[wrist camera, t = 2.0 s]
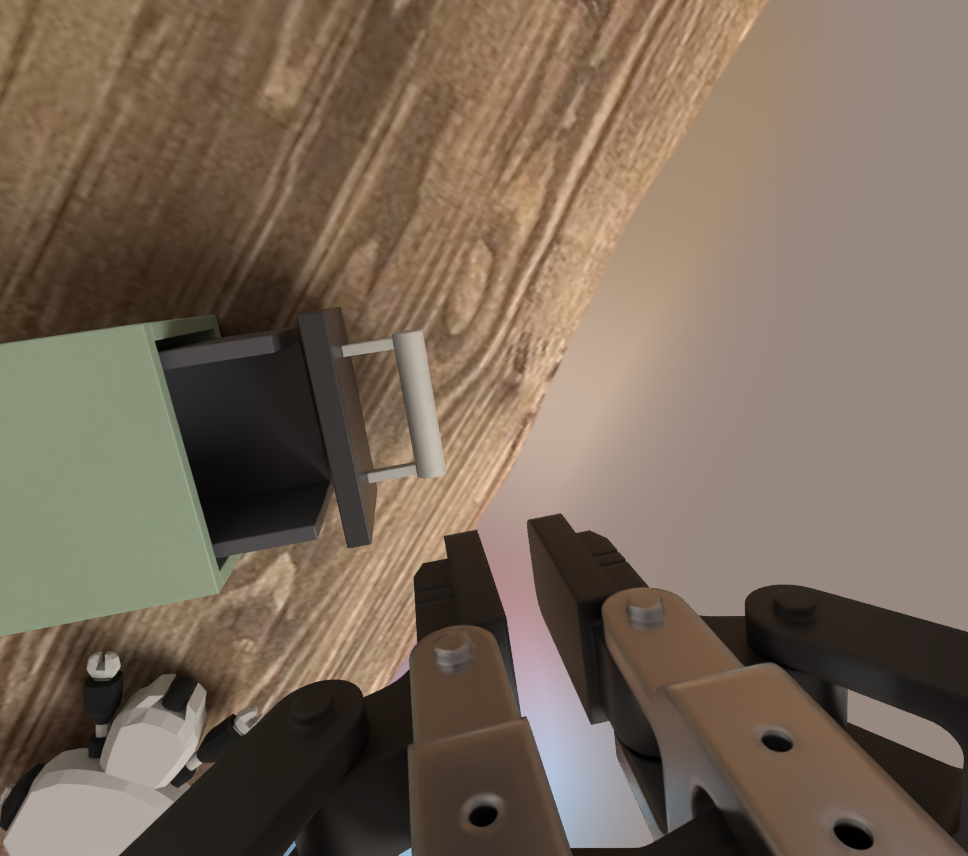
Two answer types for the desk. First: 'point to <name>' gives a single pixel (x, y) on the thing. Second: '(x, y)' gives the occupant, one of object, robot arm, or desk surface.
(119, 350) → the green drawer cabinet
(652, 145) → the desk surface
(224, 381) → the drawer
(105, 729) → the robot toy
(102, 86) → the desk surface
